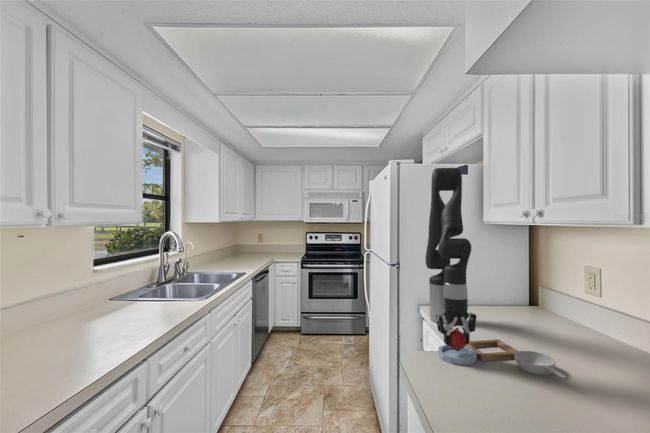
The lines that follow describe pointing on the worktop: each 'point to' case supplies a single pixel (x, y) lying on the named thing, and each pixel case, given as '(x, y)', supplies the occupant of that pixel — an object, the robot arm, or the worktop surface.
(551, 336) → the worktop surface
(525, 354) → the saucepan
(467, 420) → the worktop surface
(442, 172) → the robot arm
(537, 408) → the worktop surface
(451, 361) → the dish
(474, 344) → the frame
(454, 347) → the onion
